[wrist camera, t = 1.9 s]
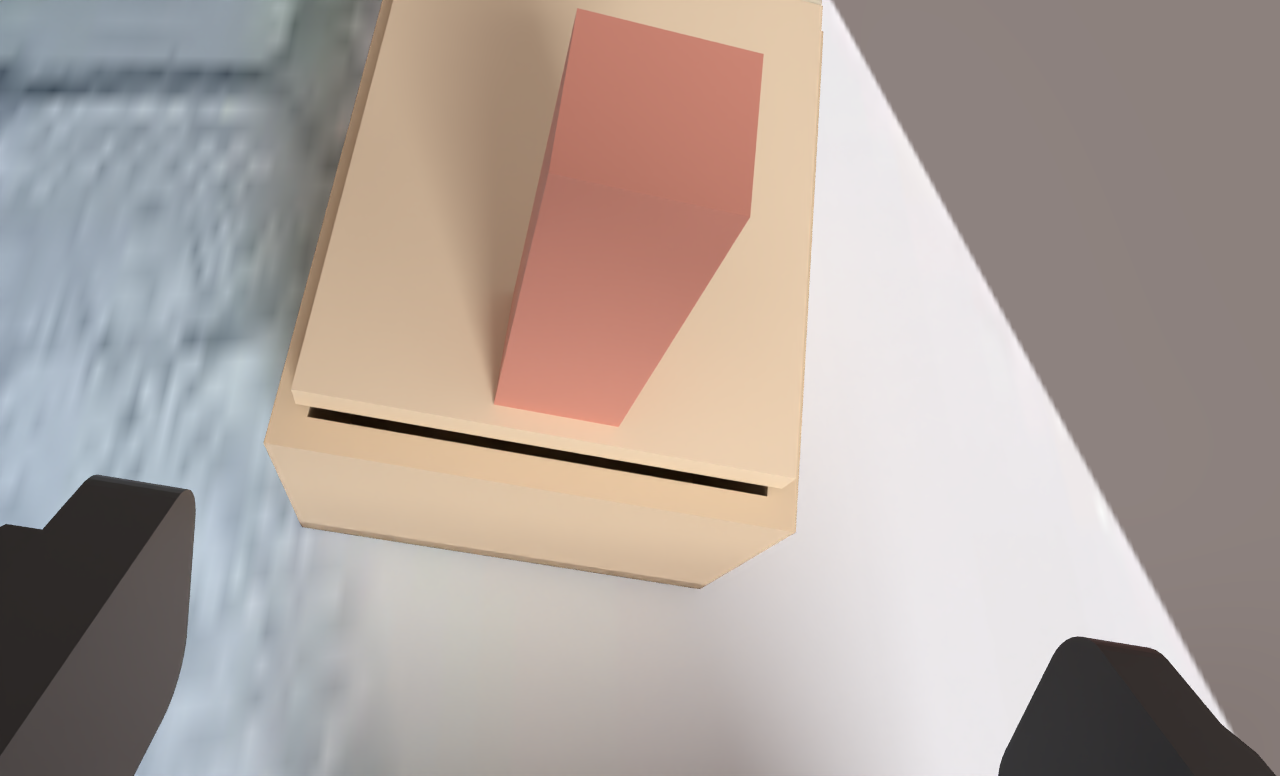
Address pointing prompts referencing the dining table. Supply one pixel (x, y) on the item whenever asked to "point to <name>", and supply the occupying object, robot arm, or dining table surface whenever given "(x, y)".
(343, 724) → the dining table surface
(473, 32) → the flap
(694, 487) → the carton
